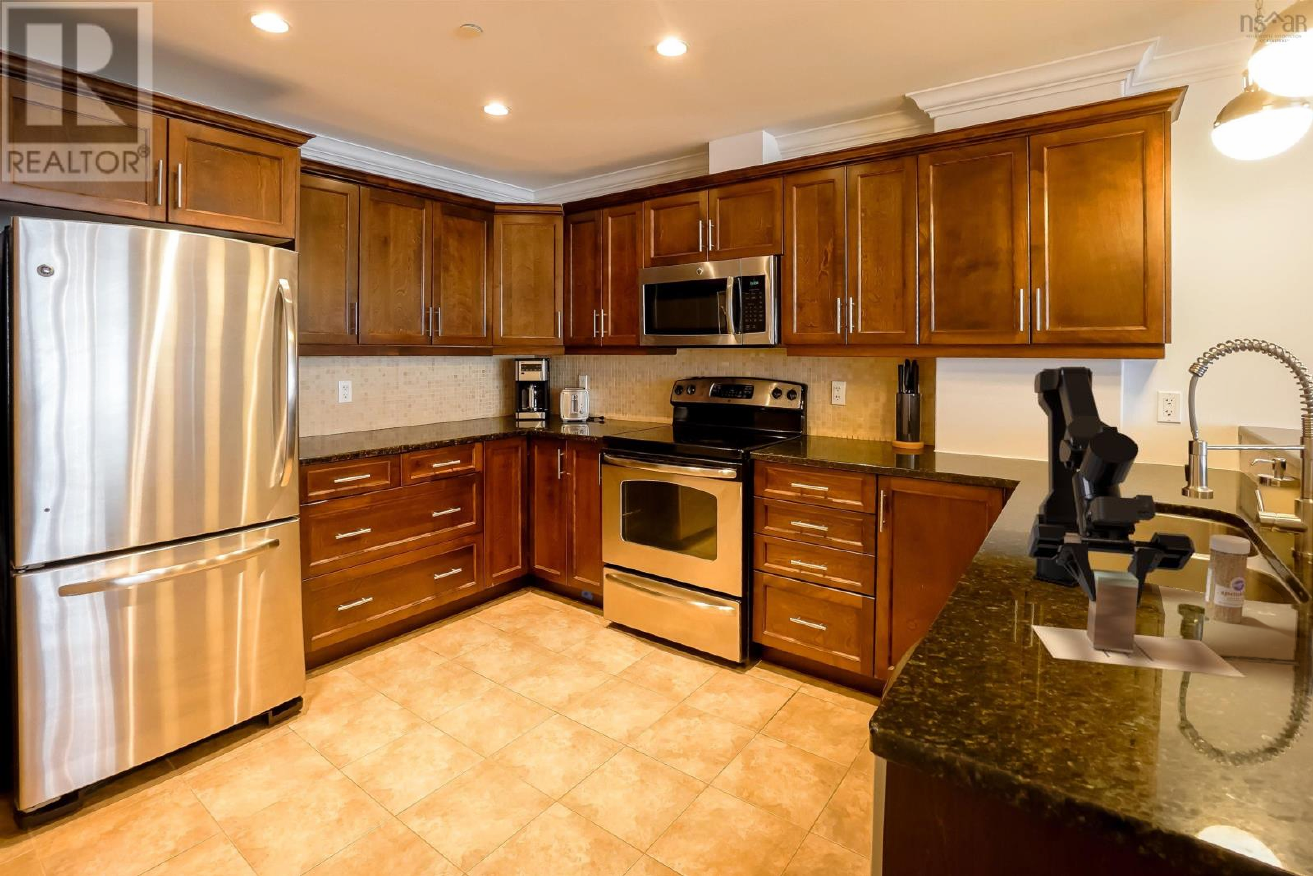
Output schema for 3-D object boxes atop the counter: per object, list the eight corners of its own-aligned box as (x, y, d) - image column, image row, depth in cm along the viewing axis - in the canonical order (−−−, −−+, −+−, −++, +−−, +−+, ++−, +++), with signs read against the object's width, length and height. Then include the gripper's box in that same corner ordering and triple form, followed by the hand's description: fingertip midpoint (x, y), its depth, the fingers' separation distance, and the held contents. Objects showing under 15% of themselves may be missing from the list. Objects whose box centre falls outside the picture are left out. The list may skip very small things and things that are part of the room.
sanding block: (1093, 648, 89) (1098, 576, 88) (1086, 637, 92) (1091, 568, 91) (1132, 653, 87) (1138, 580, 86) (1124, 642, 90) (1130, 572, 89)
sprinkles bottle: (1228, 631, 97) (1236, 542, 95) (1195, 620, 101) (1202, 535, 99) (1249, 627, 98) (1258, 540, 96) (1216, 616, 102) (1224, 532, 101)
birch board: (1053, 664, 87) (1053, 657, 87) (1031, 631, 97) (1031, 625, 97) (1244, 685, 81) (1245, 677, 81) (1199, 647, 92) (1200, 640, 91)
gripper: (1035, 469, 94) (1046, 566, 85) (1195, 475, 87) (1225, 582, 78) (1023, 510, 102) (1032, 604, 93) (1168, 519, 95) (1192, 621, 87)
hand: (1115, 602), depth 88 cm, fingers closed on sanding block, 4 cm apart
